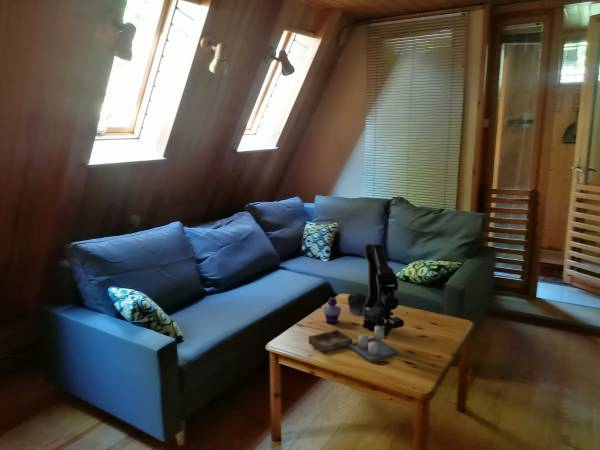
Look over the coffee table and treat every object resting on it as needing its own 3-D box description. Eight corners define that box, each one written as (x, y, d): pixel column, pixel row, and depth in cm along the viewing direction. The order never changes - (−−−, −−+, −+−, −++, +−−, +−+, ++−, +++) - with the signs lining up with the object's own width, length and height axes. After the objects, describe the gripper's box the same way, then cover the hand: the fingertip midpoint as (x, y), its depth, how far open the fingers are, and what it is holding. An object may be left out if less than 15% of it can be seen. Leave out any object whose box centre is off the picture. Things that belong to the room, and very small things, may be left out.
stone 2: (375, 351, 192) (375, 341, 191) (379, 355, 188) (379, 345, 187) (366, 352, 191) (366, 342, 190) (370, 356, 187) (370, 346, 186)
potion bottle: (333, 317, 227) (334, 293, 225) (344, 323, 220) (345, 299, 218) (319, 320, 223) (319, 297, 221) (329, 327, 216) (330, 303, 213)
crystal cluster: (379, 312, 236) (380, 293, 235) (364, 318, 226) (364, 298, 225) (358, 307, 245) (358, 289, 244) (342, 312, 235) (342, 293, 234)
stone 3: (379, 334, 196) (380, 324, 195) (385, 338, 193) (386, 328, 192) (372, 336, 195) (372, 326, 194) (378, 340, 191) (378, 330, 190)
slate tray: (375, 339, 204) (375, 336, 203) (398, 354, 191) (398, 350, 191) (347, 347, 196) (347, 344, 196) (369, 362, 184) (370, 359, 183)
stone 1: (361, 343, 198) (361, 334, 197) (369, 346, 195) (369, 336, 194) (355, 347, 195) (356, 337, 194) (363, 350, 192) (364, 340, 191)
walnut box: (337, 335, 207) (337, 329, 207) (351, 345, 198) (352, 338, 197) (308, 342, 200) (308, 336, 199) (322, 353, 191) (322, 346, 190)
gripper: (355, 296, 195) (354, 330, 199) (384, 312, 180) (382, 348, 183) (376, 292, 201) (374, 325, 204) (406, 306, 185) (403, 342, 188)
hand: (382, 335), depth 195 cm, fingers closed on stone 3, 3 cm apart
